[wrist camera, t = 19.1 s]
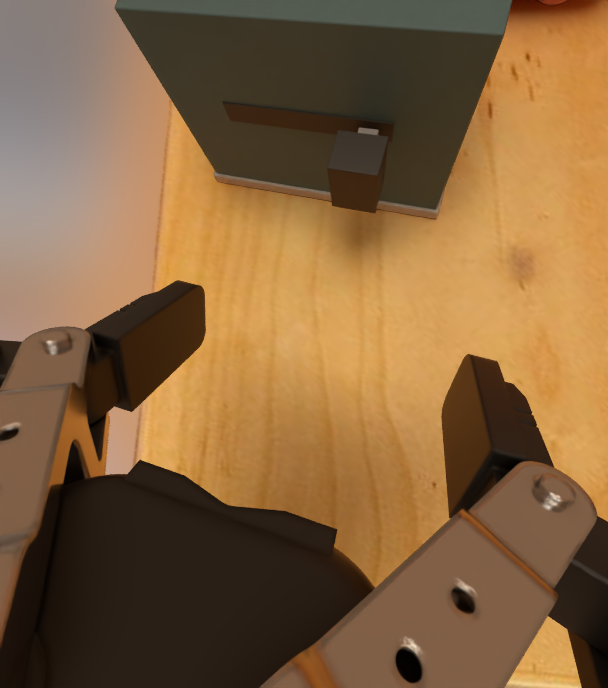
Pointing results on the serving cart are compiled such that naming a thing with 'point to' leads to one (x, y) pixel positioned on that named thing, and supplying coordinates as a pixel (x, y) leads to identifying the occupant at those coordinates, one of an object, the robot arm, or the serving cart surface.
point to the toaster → (323, 84)
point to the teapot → (552, 1)
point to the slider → (357, 169)
